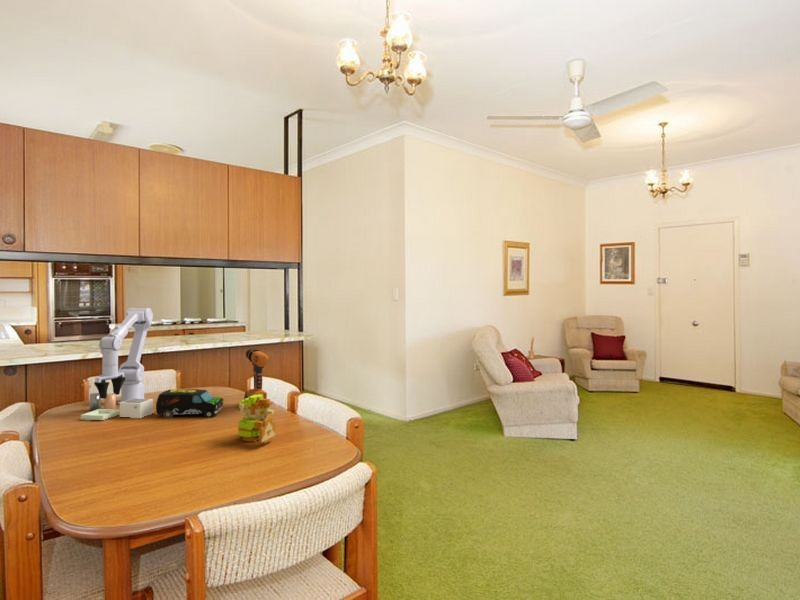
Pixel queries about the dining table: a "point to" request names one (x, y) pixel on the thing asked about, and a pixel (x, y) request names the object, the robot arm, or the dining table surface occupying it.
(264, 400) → the toy
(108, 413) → the tray
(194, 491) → the dining table surface
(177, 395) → the toy van
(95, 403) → the grey peg
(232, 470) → the dining table surface
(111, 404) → the terracotta peg
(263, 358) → the power drill
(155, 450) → the dining table surface
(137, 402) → the box
